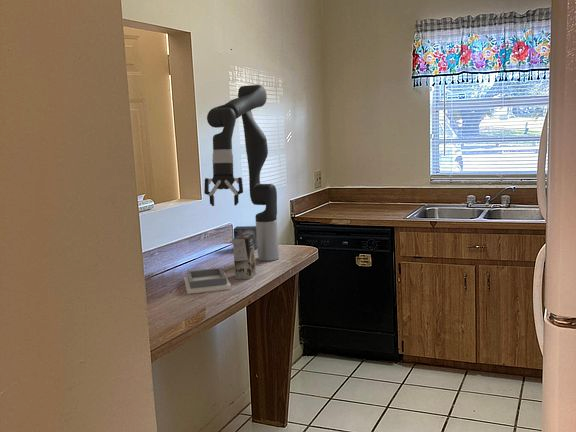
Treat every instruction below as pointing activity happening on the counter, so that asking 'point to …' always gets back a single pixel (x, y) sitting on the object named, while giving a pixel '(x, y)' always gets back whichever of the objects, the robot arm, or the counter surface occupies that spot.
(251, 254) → the coffee box
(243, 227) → the small box
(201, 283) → the socket stand
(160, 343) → the counter surface
